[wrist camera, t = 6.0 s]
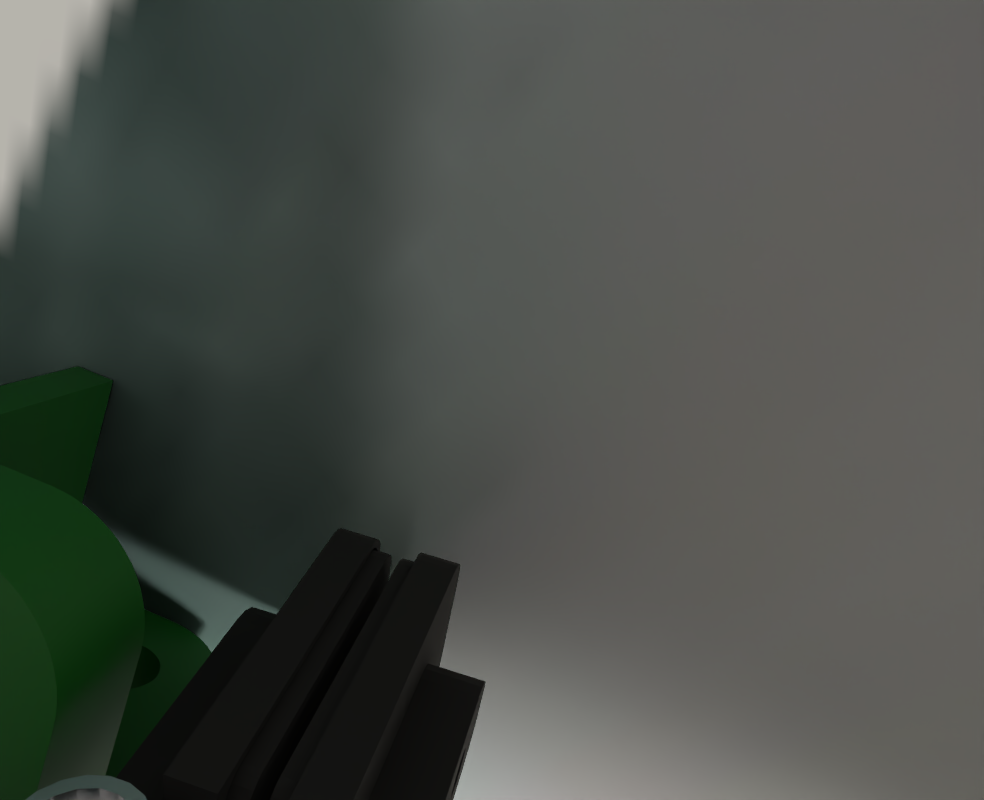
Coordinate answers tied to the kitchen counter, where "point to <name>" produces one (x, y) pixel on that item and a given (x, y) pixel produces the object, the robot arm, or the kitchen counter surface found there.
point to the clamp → (71, 601)
